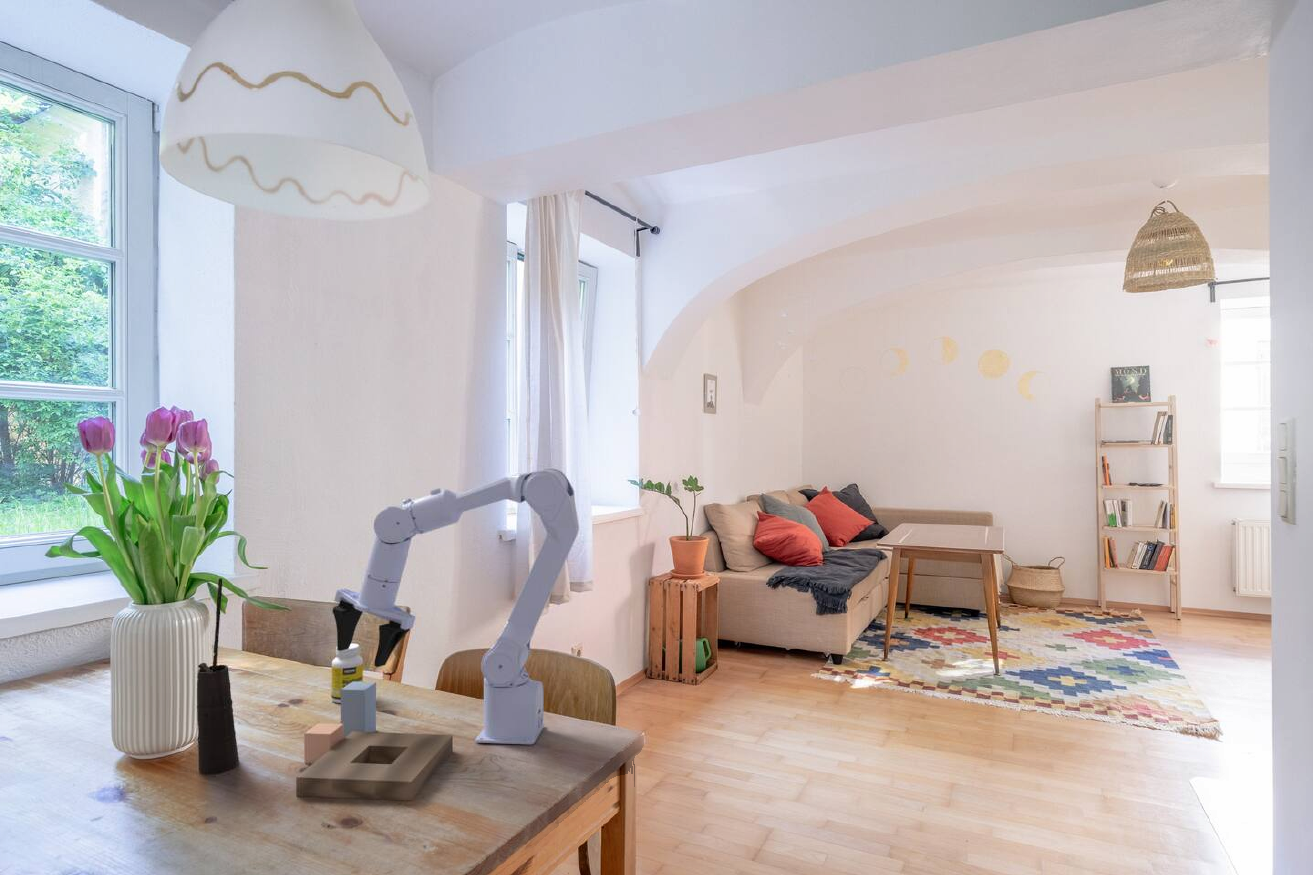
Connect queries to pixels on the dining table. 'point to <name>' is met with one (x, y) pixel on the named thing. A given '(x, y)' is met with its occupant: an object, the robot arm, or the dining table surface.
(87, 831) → the dining table surface
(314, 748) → the short pin
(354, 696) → the tall pin
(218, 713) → the butter churn
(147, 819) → the dining table surface
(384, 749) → the hole board
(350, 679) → the supplement bottle
